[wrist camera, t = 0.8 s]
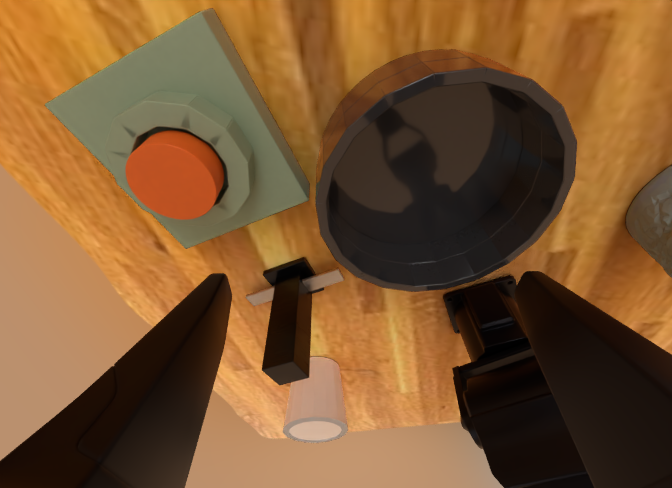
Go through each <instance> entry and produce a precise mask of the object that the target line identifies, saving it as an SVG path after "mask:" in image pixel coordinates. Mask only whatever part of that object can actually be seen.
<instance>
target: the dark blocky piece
mask: <svg viewBox="0 0 672 488" xmlns="http://www.w3.org/2000/svg"><path fill="white" fill-rule="evenodd" d="M263 276H264V277H265V278H266V279H267V281H268V282H269V283H270V284H271V285H272V286H271V287H268V288H265V289H262V290H259V291H256V292H253V293H250V294H247V295H246V298H247V299H248V300H249V301H250V303H251V304H252V305H253V306H256V305H260V304H263V303H266V302H269V301H272V306H271V313H270V319H269V326H268V332H267V339H266V345H265V352H264V358H263V365H262V371H263V372H265V373H266V374H267V375H268V376H269V377H270V378H271V379H273V380H274V381H275V382H276V383H277V384H278V385H283V384H287V383H291V382H295V381H299V380H303V379H307V378H309V372H310V341H311V309H312V294H313V293H316V292H319V291H322V290H324V287H326V286H329V285H332V284H335V283H338V282H341V281H344V280H345V278H344V276H343V275H342V273H341V271H340V270H339V268H335V269H332V270H329V271H326V272H323V273H320V274H317V275H316V274H315V272H314V271H313V269H312V268H311V266H310V265H309V263H308V262H307V260H306V259H305V257H303V258H300V259H297V260H295V261H292V262H289V263H286V264H283V265H280V266H278V267H275V268H272V269H269V270H266V271H264V273H263Z"/></svg>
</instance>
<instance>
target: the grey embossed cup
mask: <svg viewBox="0 0 672 488" xmlns="http://www.w3.org/2000/svg"><path fill="white" fill-rule="evenodd" d="M626 227H627V229H628V231H629V233H630V234H631V236H632V237H633V238H634V239H635V240H636V241H637V242H638V243H639V244H640V245H641V246H642V247H643V248H644V249H645V250H646V251H647V252H648V254H649V255H650V256H651V257H653V258H654V259H655V260H656V261H657V262H658V263H659V264H660V265H661V266H662V267H663V268H664V270H665V271H666V273H667V274H668V275H669V276H670V277H671V278H672V165H671V166H670V167H668V168H667V169H665V170H664V171H663V172H661V173H660V174H659V175H657V176H656V177H655V178H654V179H652V180H651V181H650V182H649V183H648V184H647V185H646V186H645V187H644V188H643V189H642V190H641V191H640V193H639V194H638V195H637V196H636V198H635V199H634V200H633V202H632V204H631V206H630V207H629V209H628V212H627V215H626Z"/></svg>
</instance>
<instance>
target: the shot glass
mask: <svg viewBox="0 0 672 488" xmlns="http://www.w3.org/2000/svg"><path fill="white" fill-rule="evenodd" d="M347 431H348V424H347V417H346V410H345V403H344V396H343V389H342V381H341V374H340V368H339V365H338V363H336V362H335V361H334V360H332V359H329V358H325V357H310V372H309V378H307V379H303V380H299V381H295V382H291V387H290V393H289V399H288V404H287V410H286V416H285V422H284V428H283V433H284V434H285V435H286V436H287V437H288V438H291V439H293V440H296V441H301V442H311V443H319V442H327V441H332V440H335V439H339V438H340V437H342V436H344V435H345V434H346V433H347Z"/></svg>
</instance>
